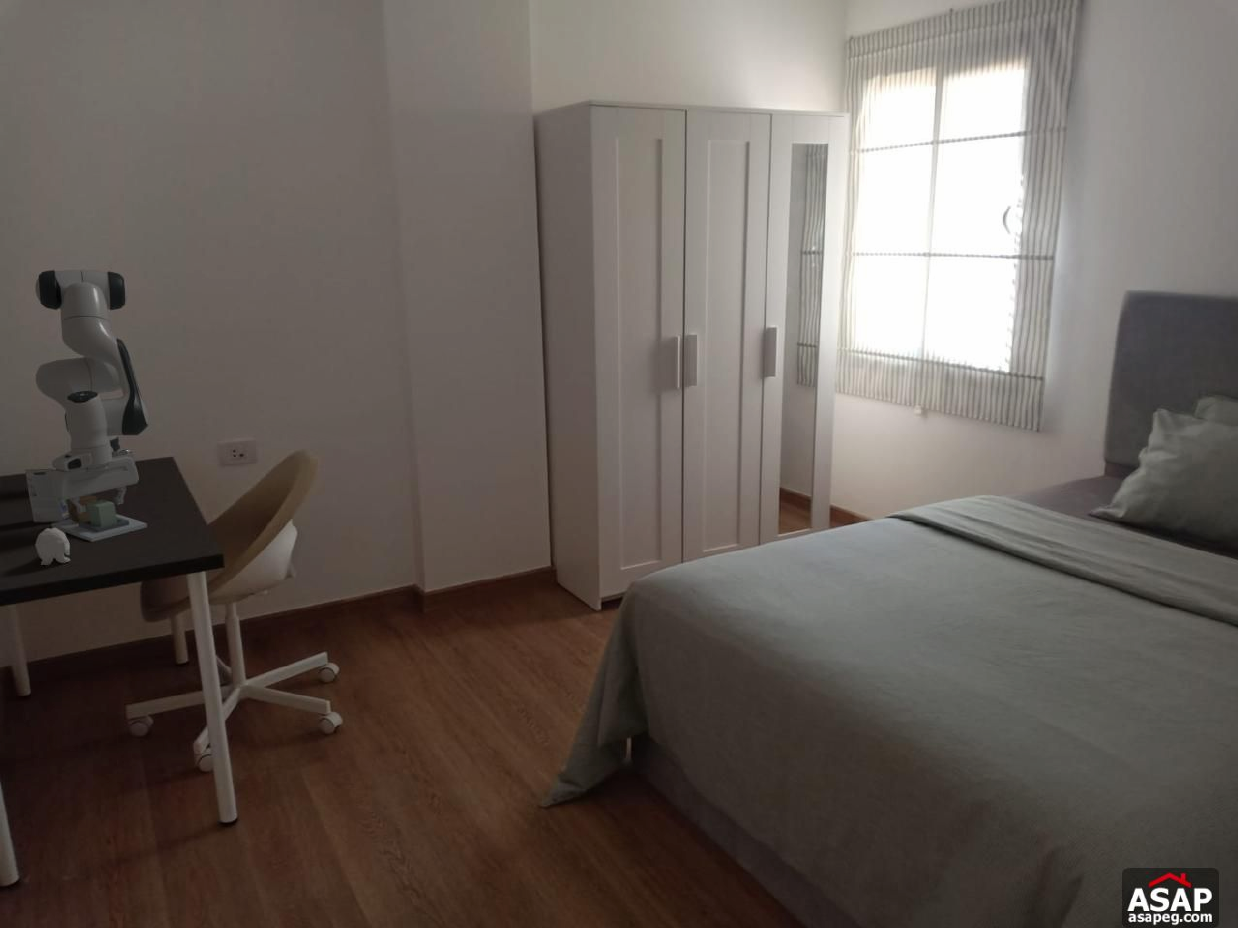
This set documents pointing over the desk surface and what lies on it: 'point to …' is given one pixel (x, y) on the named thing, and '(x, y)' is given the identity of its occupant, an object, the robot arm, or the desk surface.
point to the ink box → (45, 498)
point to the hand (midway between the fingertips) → (101, 508)
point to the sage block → (102, 513)
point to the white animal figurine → (52, 546)
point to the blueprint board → (89, 532)
